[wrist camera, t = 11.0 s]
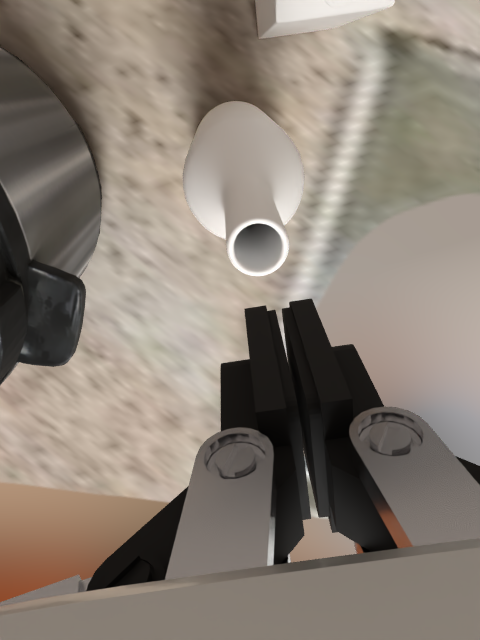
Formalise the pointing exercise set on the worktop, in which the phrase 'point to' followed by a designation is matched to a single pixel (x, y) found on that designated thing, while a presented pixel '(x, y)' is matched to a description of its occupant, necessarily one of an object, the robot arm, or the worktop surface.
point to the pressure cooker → (42, 221)
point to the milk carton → (311, 15)
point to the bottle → (244, 184)
